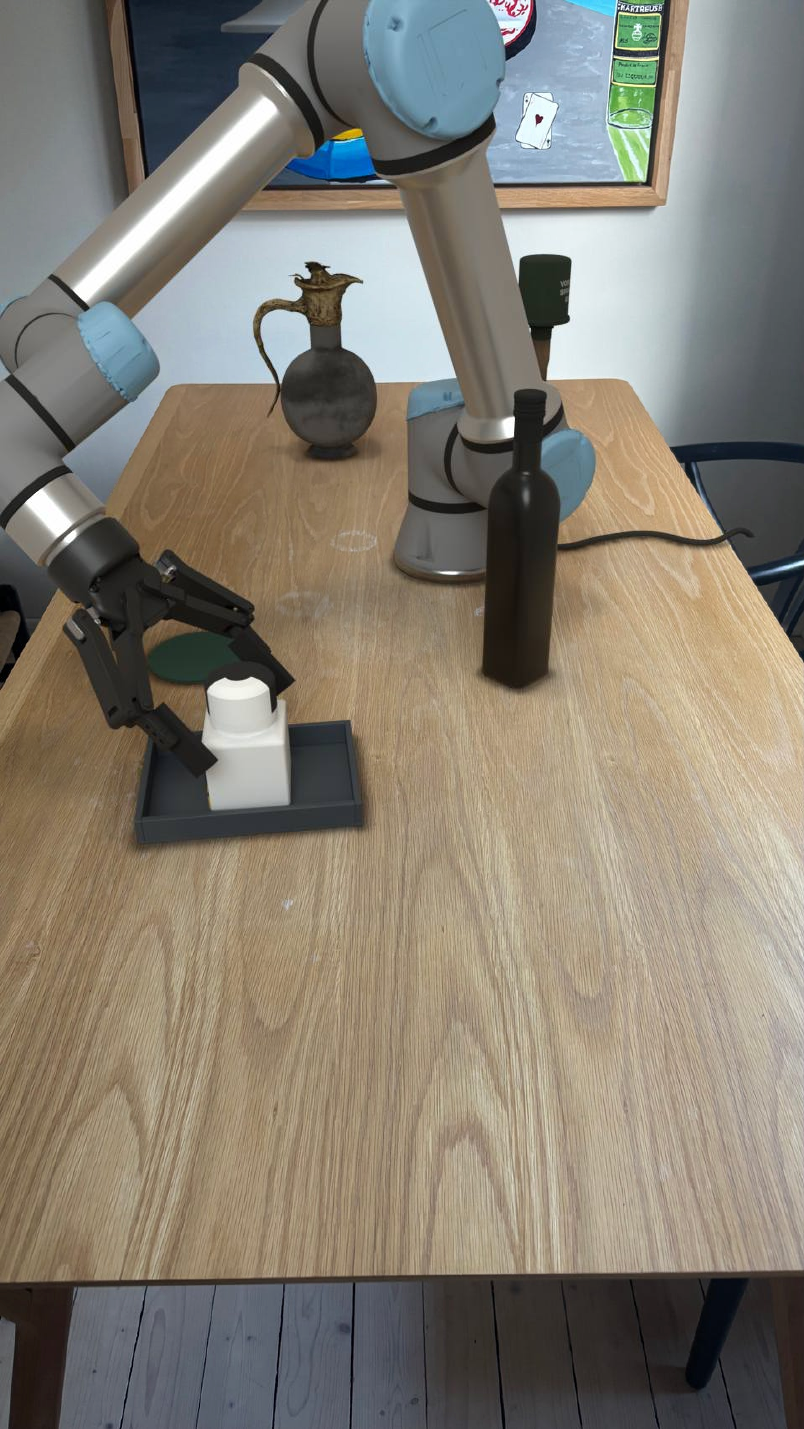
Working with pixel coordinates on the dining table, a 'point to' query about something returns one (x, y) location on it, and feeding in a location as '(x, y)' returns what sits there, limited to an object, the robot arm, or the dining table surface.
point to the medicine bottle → (246, 739)
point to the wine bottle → (521, 555)
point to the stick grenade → (544, 299)
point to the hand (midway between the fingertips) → (249, 727)
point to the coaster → (191, 657)
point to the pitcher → (322, 370)
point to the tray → (317, 802)
